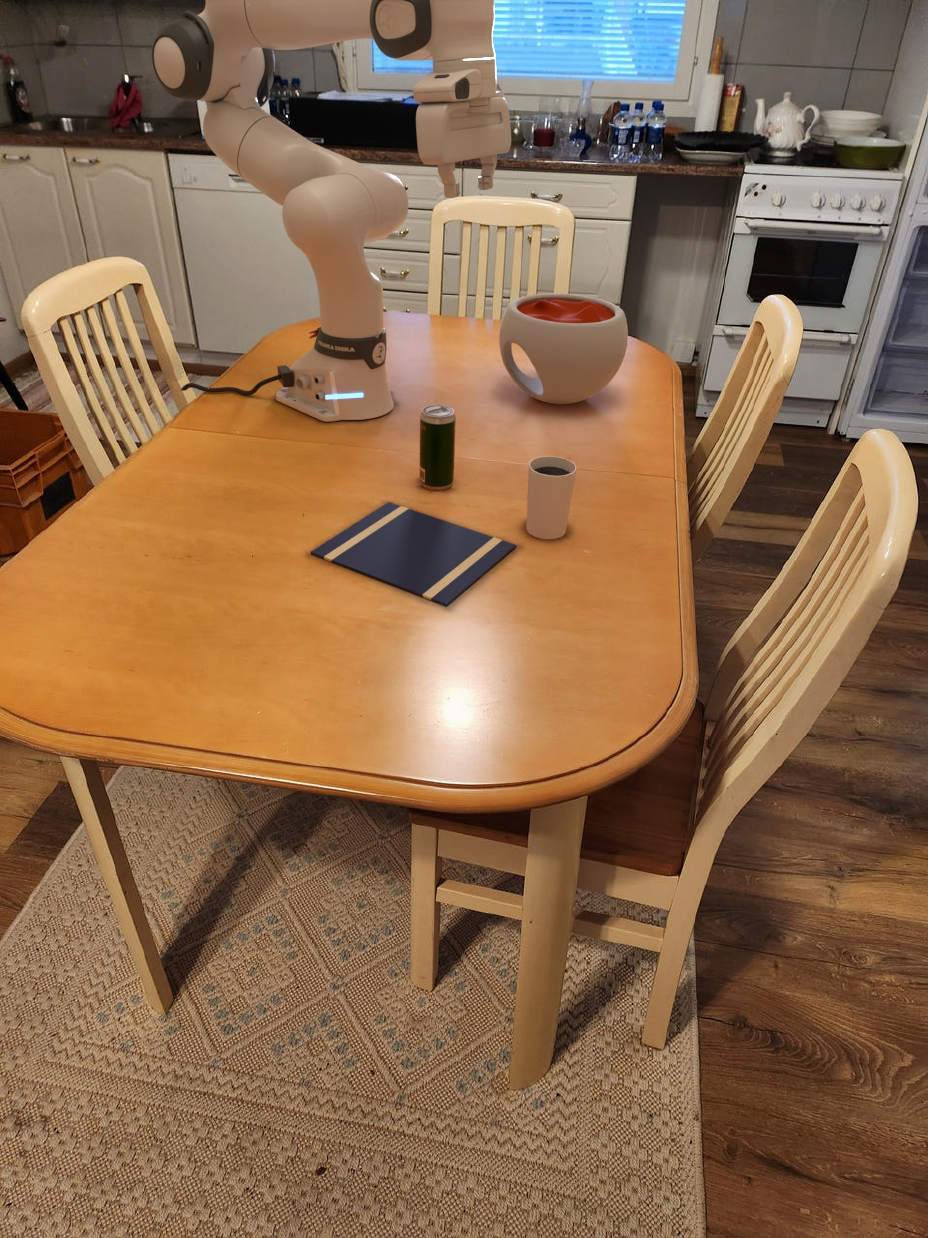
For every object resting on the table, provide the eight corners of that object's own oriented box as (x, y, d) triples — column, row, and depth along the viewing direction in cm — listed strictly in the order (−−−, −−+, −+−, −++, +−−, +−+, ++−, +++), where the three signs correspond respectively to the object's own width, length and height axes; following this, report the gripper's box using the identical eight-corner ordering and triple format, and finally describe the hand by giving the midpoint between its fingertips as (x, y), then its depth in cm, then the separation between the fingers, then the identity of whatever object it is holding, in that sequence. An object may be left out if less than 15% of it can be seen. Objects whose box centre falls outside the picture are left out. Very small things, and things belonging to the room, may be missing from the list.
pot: (616, 425, 158) (631, 327, 148) (487, 412, 161) (492, 314, 151) (620, 381, 178) (633, 291, 168) (504, 370, 181) (510, 281, 171)
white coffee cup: (538, 544, 122) (544, 479, 116) (514, 523, 127) (519, 460, 121) (577, 535, 124) (586, 471, 119) (553, 514, 129) (559, 452, 124)
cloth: (310, 554, 117) (310, 551, 117) (388, 504, 130) (388, 501, 130) (446, 606, 108) (446, 603, 108) (516, 547, 121) (516, 544, 121)
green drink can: (430, 494, 133) (432, 420, 126) (413, 480, 137) (413, 407, 130) (460, 486, 136) (462, 413, 129) (441, 473, 139) (443, 401, 133)
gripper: (484, 83, 131) (487, 184, 138) (405, 88, 117) (413, 201, 124) (520, 81, 128) (521, 185, 135) (444, 86, 114) (450, 202, 121)
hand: (469, 193), depth 130 cm, fingers open, 8 cm apart
